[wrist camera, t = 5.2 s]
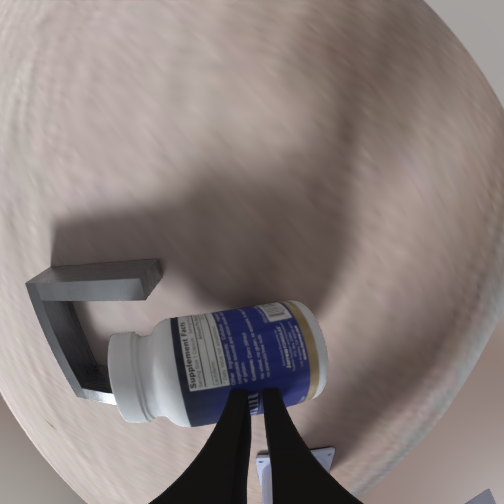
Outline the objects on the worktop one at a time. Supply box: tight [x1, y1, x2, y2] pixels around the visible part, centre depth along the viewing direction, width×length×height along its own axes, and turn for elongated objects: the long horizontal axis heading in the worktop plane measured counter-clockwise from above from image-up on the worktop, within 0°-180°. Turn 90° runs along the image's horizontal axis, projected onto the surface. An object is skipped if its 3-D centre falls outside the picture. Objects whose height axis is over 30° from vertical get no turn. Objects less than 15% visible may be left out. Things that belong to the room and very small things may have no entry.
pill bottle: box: [108, 300, 328, 427], centre depth 13 cm, size 6×6×10 cm
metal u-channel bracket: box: [25, 259, 163, 404], centre depth 16 cm, size 10×9×3 cm
